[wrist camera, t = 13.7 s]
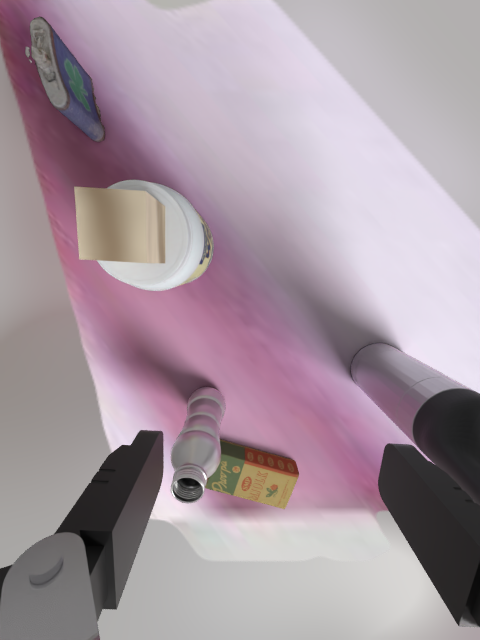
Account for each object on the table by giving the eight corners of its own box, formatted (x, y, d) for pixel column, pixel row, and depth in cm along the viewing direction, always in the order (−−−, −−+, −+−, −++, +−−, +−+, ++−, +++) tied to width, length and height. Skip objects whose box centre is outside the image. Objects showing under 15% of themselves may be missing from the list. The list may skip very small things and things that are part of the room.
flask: (108, 141, 39) (59, 96, 29) (89, 144, 40) (34, 101, 29) (90, 70, 38) (32, -5, 27) (71, 74, 38) (5, 1, 27)
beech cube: (165, 206, 26) (145, 191, 20) (165, 263, 27) (146, 263, 21) (109, 203, 26) (74, 186, 20) (111, 260, 27) (79, 259, 21)
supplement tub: (226, 266, 43) (217, 267, 27) (161, 295, 44) (114, 313, 28) (194, 193, 41) (164, 145, 24) (126, 225, 42) (52, 200, 25)
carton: (281, 492, 53) (285, 511, 49) (206, 472, 52) (203, 490, 48) (295, 458, 51) (300, 476, 47) (217, 437, 50) (215, 453, 46)
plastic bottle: (192, 379, 48) (159, 460, 28) (229, 385, 48) (221, 469, 28) (188, 411, 49) (153, 509, 29) (223, 416, 49) (212, 517, 30)
